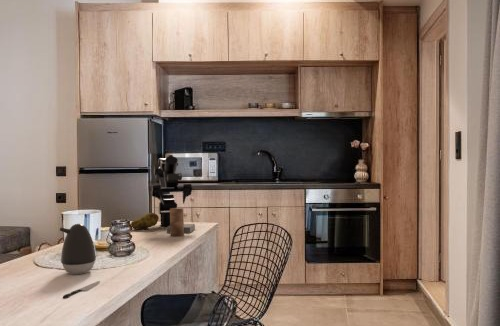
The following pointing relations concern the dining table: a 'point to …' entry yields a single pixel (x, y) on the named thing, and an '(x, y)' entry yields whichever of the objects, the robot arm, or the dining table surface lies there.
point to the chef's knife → (82, 289)
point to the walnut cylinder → (176, 222)
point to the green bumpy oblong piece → (145, 221)
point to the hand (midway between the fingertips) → (174, 203)
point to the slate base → (185, 228)
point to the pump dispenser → (77, 250)
